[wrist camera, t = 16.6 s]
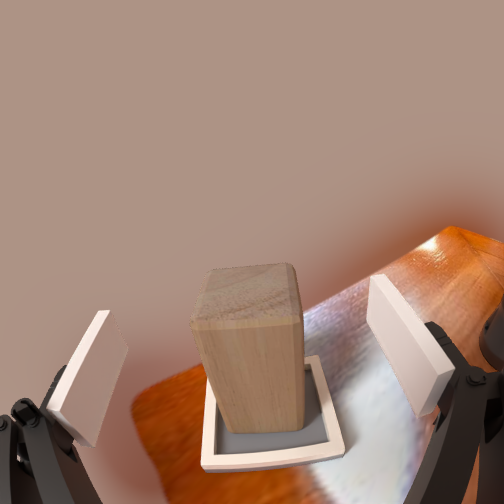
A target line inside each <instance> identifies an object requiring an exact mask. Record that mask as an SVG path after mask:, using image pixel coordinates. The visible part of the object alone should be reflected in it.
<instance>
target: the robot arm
mask: <svg viewBox="0 0 504 504" xmlns="http://www.w3.org/2000/svg"><path fill="white" fill-rule="evenodd" d="M366 321H367V323H368V324H369V326H370V328H371V330H372V332H373V333H374V335H375V337H376V339H377V341H378V343H379V344H380V346H381V348H382V350H383V352H384V354H385V356H386V358H387V359H388V361H389V363H390V365H391V367H392V369H393V371H394V373H395V375H396V377H397V379H398V381H399V383H400V385H401V387H402V389H403V391H404V393H405V395H406V397H407V399H408V401H409V403H410V405H411V407H412V409H413V412H414V414H415V416H416V418H420V417H422V416H425V415H427V414H430V413H432V412H433V411H434V409H435V407H436V405H438V406H439V408H440V410H441V411H440V413H439V414H438V416H437V418H436V419H435V421H434V423H433V425H435V428H434V431H433V434H432V437H431V439H430V442H429V445H428V448H427V451H426V453H425V456H424V458H423V461H422V463H421V466H420V468H419V471H418V473H417V475H416V478H415V480H414V482H413V484H412V486H411V489H410V491H409V493H408V495H407V497H406V499H405V501H404V503H403V504H461V503H462V500H463V498H464V495H465V492H466V489H467V486H468V483H469V480H470V477H471V473H472V470H473V466H474V463H475V459H476V455H477V451H478V447H479V478H478V491H477V500H476V504H504V294H503V297H502V300H501V302H500V304H499V305H498V307H497V308H496V309H495V311H494V312H493V313H492V314H491V316H490V317H489V318H488V320H487V321H486V322H485V324H484V326H483V329H482V331H481V334H480V337H479V345H480V349H481V352H482V354H483V356H484V357H485V359H486V360H487V361H488V362H489V363H490V364H491V365H492V366H493V367H494V368H495V369H497V370H498V371H499V372H492V373H486V372H485V371H484V370H483V369H481V368H479V367H476V366H470V365H469V364H468V362H467V361H466V359H465V358H464V357H463V355H462V354H461V353H460V351H459V350H458V349H457V347H456V346H455V345H454V343H452V341H451V339H450V338H449V337H447V334H446V333H445V331H444V330H443V329H442V328H441V327H440V326H439V325H437V324H435V323H434V322H432V321H431V322H428V323H425V324H424V323H423V322H422V321H421V319H420V318H419V317H418V315H417V314H416V313H415V312H414V310H413V309H412V308H411V306H410V305H409V304H408V303H407V301H406V300H405V299H404V297H403V296H402V295H401V294H400V292H399V291H398V290H397V289H396V287H395V286H394V285H393V284H392V283H391V281H390V280H389V279H388V278H387V276H386V275H385V274H379V275H374V276H370V288H369V299H368V308H367V317H366ZM128 350H129V348H128V346H127V344H126V342H125V340H124V338H123V336H122V334H121V332H120V330H119V328H118V326H117V324H116V322H115V319H114V317H113V315H112V313H111V310H105V311H98V313H97V314H96V316H95V318H94V319H93V321H92V323H91V325H90V326H89V328H88V330H87V331H86V333H85V335H84V336H83V338H82V340H81V342H80V344H79V345H78V347H77V349H76V351H75V352H74V354H73V356H72V358H71V360H70V362H69V363H68V365H64V366H63V368H61V369H60V370H59V372H58V373H57V375H56V377H55V378H54V382H52V384H51V386H50V387H51V388H49V390H48V392H47V394H46V396H45V398H44V400H43V402H42V404H41V406H40V408H39V409H38V408H37V407H36V405H35V404H34V403H33V402H32V401H31V400H30V399H29V398H22V399H20V400H18V401H17V402H16V403H15V404H14V405H13V407H12V409H11V415H12V417H13V418H14V419H15V420H16V422H14V421H13V420H12V419H11V418H10V417H9V416H8V415H2V416H0V504H103V503H102V502H101V500H100V498H99V497H98V494H97V492H96V490H95V489H94V487H93V485H92V483H91V481H90V479H89V477H88V474H87V473H86V470H85V468H84V466H83V464H82V462H81V459H80V457H79V454H78V452H77V450H76V448H75V446H74V445H73V444H72V443H73V440H74V439H75V440H76V441H77V442H78V443H79V444H80V445H82V446H87V447H91V448H95V445H96V442H97V438H98V435H99V432H100V428H101V426H102V422H103V419H104V416H105V413H106V410H107V407H108V404H109V402H110V399H111V396H112V393H113V390H114V387H115V385H116V382H117V379H118V376H119V374H120V371H121V368H122V366H123V363H124V361H125V358H126V355H127V353H128ZM17 455H19V456H20V462H19V461H18V460H17Z"/></svg>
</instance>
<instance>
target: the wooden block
mask: <svg viewBox="0 0 504 504" xmlns="http://www.w3.org/2000/svg"><path fill="white" fill-rule="evenodd" d="M190 327H191V330H192V333H193V336H194V339H195V342H196V345H197V348H198V351H199V354H200V357H201V360H202V363H203V366H204V369H205V372H206V374H207V377H208V380H209V383H210V386H211V388H212V391H213V394H214V396H215V399H216V402H217V404H218V407H219V410H220V412H221V415H222V417H223V420H224V422H225V425H226V427H227V430H228V432H230V433H234V434H255V433H277V432H291V431H298V430H301V429H302V428H303V425H304V414H305V366H304V320H303V311H302V305H301V300H300V294H299V288H298V283H297V277H296V272H295V269H294V267H293V266H292V265H291V264H288V263H278V264H267V265H257V266H246V267H235V268H225V269H213V270H211V271H209V272H207V273H206V276H205V278H204V281H203V284H202V287H201V289H200V293H199V295H198V298H197V301H196V304H195V307H194V310H193V313H192V316H191V320H190Z"/></svg>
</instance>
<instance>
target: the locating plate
mask: <svg viewBox="0 0 504 504" xmlns="http://www.w3.org/2000/svg"><path fill="white" fill-rule="evenodd" d="M304 366H305V414H304V425H303V428H302V429H301V430H298V431H291V432H277V433H255V434H234V433H230V432H228V430H227V427H226V425H225V422H224V420H223V417H222V415H221V412H220V410H219V407H218V404H217V402H216V399H215V396H214V394H213V391H212V388H211V386H210V383H209V380H208V378H207V389H206V401H205V413H204V426H203V440H202V455H201V466H202V467H203V469H204V470H205V471H206V473H219V472H244V471H258V470H269V469H278V468H286V467H293V466H300V465H306V464H312V463H317V462H322V461H327V460H332V459H336V458H341V457H343V455H344V451H345V446H344V442H343V438H342V435H341V431H340V428H339V424H338V420H337V417H336V413H335V410H334V406H333V403H332V400H331V396H330V393H329V389H328V386H327V383H326V379H325V376H324V373H323V369H322V366H321V363H320V359H319V356H318V355H314V356H308V357H304Z"/></svg>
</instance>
